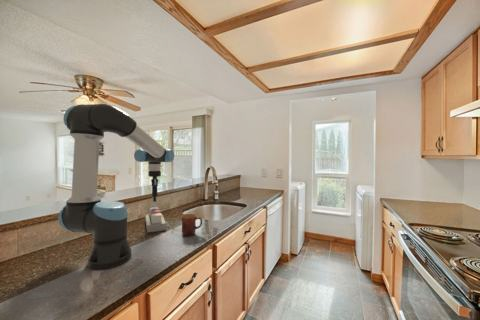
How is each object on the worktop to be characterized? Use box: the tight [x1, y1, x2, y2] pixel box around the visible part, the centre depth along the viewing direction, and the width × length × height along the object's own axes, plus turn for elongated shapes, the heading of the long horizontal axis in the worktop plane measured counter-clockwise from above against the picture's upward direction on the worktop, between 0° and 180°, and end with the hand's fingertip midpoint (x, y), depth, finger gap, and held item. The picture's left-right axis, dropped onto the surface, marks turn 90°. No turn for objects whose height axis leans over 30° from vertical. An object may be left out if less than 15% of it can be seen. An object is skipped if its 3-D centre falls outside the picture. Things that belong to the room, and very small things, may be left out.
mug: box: [180, 213, 203, 237], centre depth 112 cm, size 12×9×10 cm
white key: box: [151, 212, 161, 224], centre depth 119 cm, size 5×5×4 cm
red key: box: [151, 209, 161, 214], centre depth 126 cm, size 5×5×4 cm
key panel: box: [145, 212, 167, 233], centre depth 126 cm, size 10×23×4 cm, turn 27°
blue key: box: [149, 206, 160, 217], centre depth 133 cm, size 5×5×4 cm
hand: (154, 206), depth 133 cm, fingers closed
